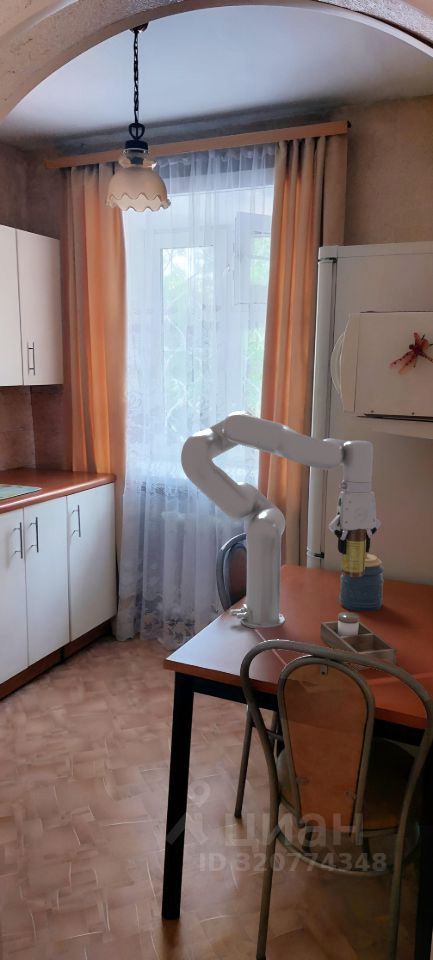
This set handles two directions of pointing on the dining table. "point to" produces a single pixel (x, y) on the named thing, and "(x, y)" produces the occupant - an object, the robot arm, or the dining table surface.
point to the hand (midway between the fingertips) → (353, 551)
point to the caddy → (358, 642)
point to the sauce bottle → (354, 554)
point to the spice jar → (348, 624)
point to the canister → (363, 587)
